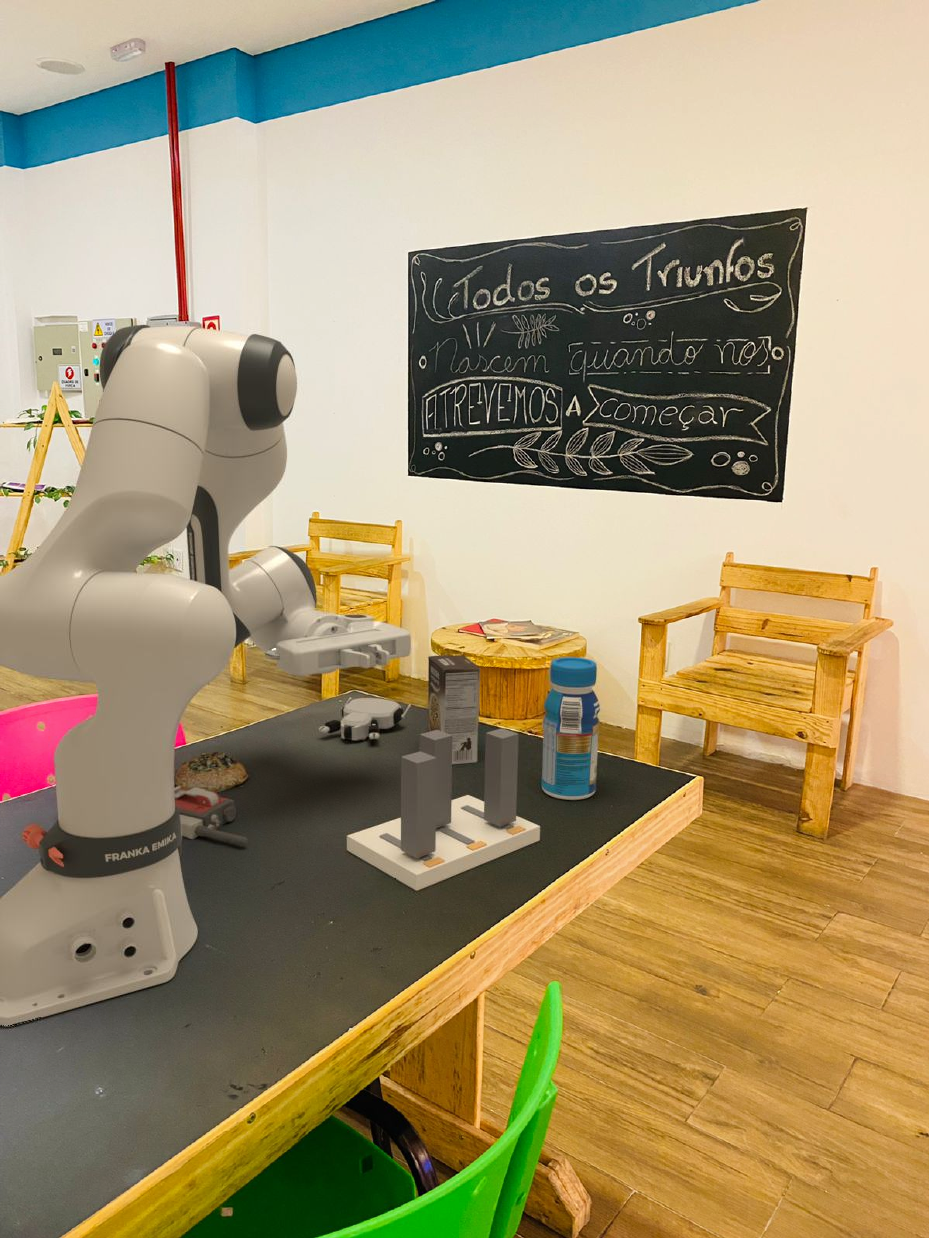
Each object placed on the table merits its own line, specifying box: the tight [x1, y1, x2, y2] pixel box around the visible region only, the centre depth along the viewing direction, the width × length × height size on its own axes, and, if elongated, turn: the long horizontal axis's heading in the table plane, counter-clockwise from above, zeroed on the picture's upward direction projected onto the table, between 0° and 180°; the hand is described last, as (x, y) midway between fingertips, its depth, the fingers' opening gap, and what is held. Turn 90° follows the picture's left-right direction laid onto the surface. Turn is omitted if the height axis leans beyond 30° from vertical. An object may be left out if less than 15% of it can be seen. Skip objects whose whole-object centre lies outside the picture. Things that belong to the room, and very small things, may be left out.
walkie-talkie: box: [174, 786, 248, 844], centre depth 124 cm, size 9×4×20 cm
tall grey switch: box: [400, 751, 437, 859], centre depth 111 cm, size 3×3×12 cm
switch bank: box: [346, 794, 541, 891], centre depth 119 cm, size 21×14×2 cm, turn 132°
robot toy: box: [318, 697, 412, 741], centre depth 164 cm, size 12×4×15 cm
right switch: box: [483, 727, 520, 827], centre depth 120 cm, size 3×3×12 cm
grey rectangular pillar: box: [418, 730, 453, 828], centre depth 119 cm, size 3×3×12 cm
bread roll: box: [174, 750, 249, 793], centre depth 140 cm, size 11×11×5 cm
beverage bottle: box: [541, 656, 601, 801], centre depth 137 cm, size 8×8×20 cm
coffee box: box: [427, 654, 481, 765], centre depth 152 cm, size 9×6×16 cm
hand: (378, 660), depth 125 cm, fingers closed
